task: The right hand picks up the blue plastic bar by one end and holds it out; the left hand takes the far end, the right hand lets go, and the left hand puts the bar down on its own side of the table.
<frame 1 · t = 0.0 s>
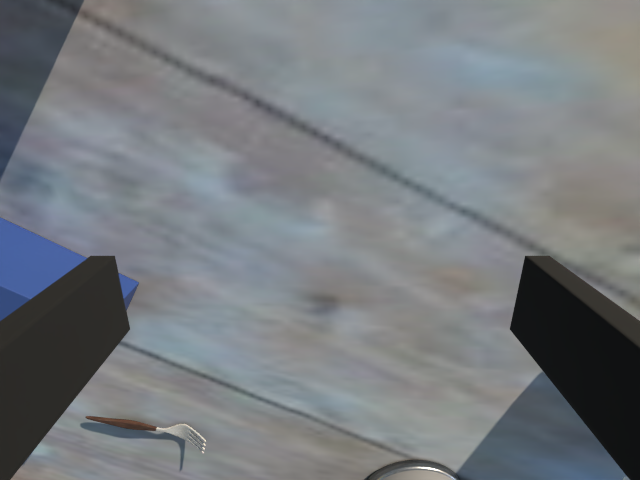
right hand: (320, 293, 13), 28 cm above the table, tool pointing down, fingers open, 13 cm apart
bar: (23, 249, 42), on the table
fork: (149, 423, 51), on the table
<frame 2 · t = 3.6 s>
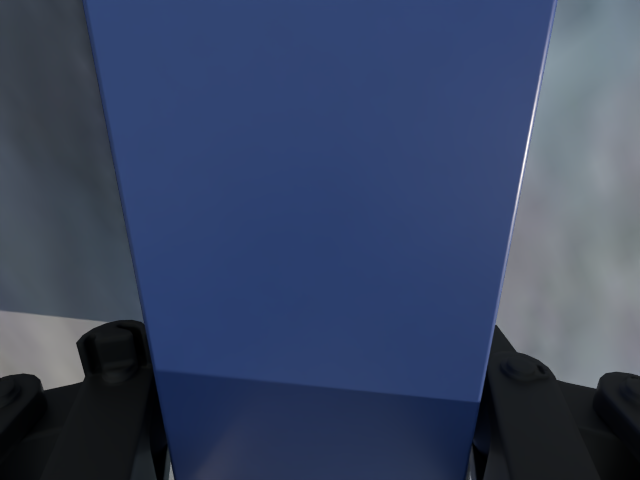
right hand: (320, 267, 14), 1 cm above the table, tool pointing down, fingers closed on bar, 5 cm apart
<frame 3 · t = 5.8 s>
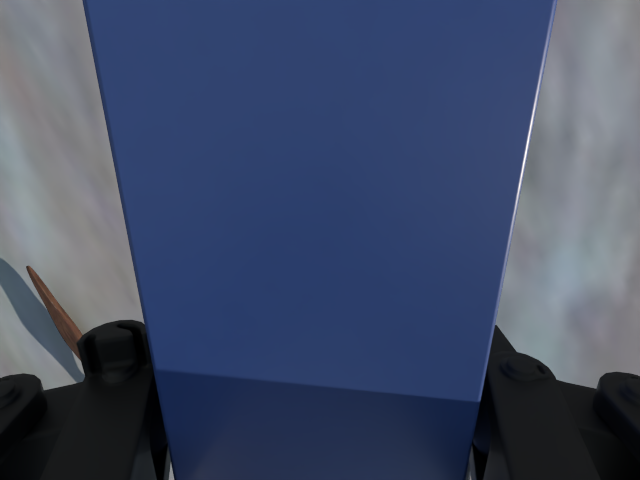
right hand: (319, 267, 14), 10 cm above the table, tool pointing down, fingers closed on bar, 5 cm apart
fork: (93, 355, 29), on the table
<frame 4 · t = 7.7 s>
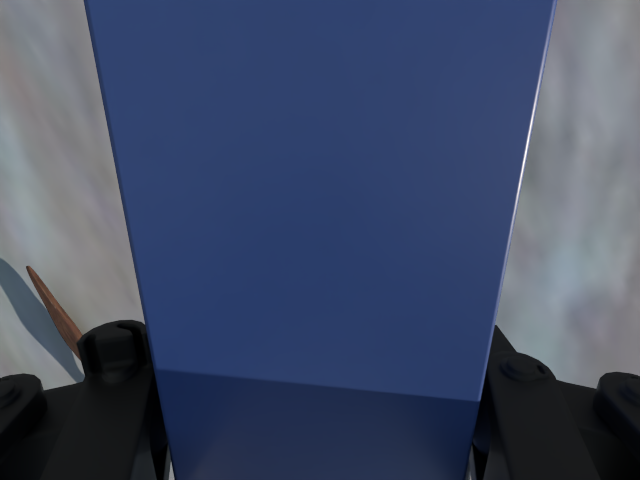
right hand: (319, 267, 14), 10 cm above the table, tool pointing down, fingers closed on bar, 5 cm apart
fork: (93, 355, 29), on the table
when the right hand's fingers open (10 cm above the table, at t = 8.5 s): bar stays where it is, held by the left hand.
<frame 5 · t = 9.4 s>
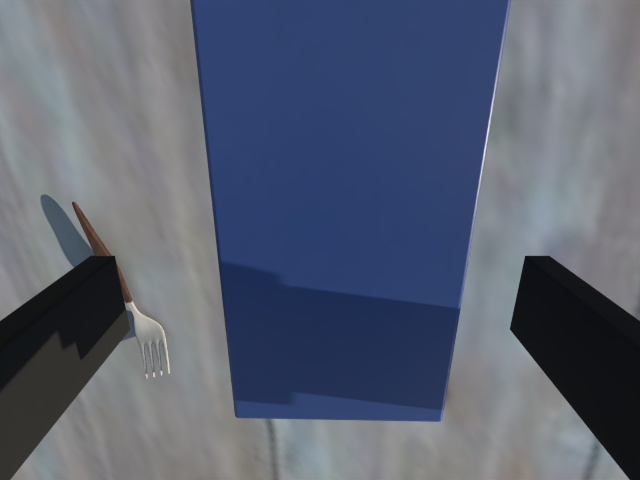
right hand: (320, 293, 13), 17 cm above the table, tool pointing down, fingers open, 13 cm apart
fork: (127, 286, 33), on the table
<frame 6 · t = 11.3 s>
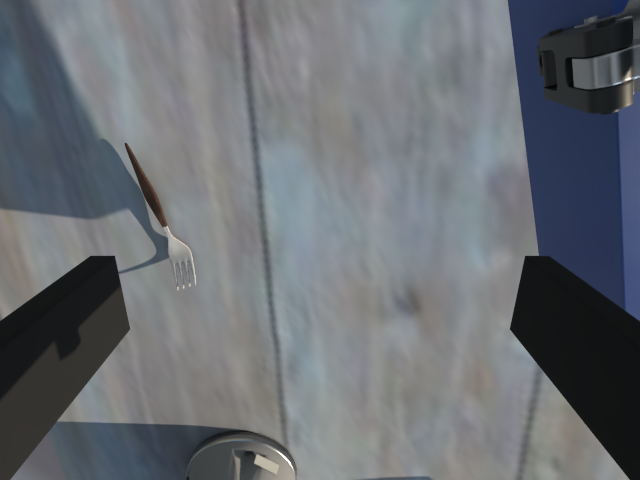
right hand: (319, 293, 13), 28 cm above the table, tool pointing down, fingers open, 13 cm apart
bar: (566, 180, 27), point 13 cm above the table, touching left hand
fork: (163, 215, 41), on the table
when the left hand's fingers open (6 cm above the table, at t = 15.4 s): bar drops 1 cm, on the table.
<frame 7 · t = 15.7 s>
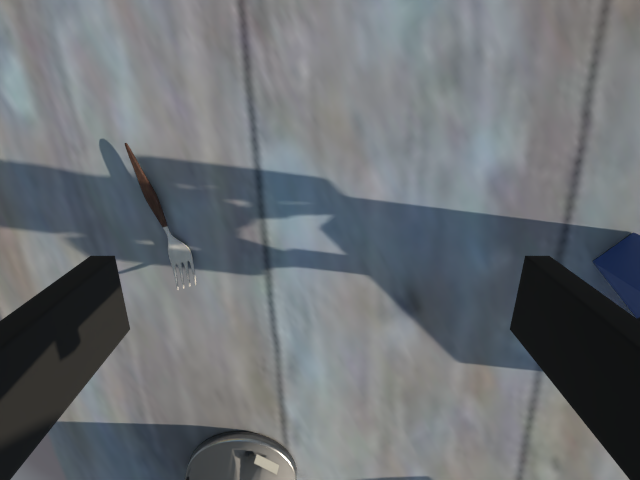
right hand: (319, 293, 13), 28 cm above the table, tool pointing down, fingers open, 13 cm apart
fork: (163, 215, 41), on the table
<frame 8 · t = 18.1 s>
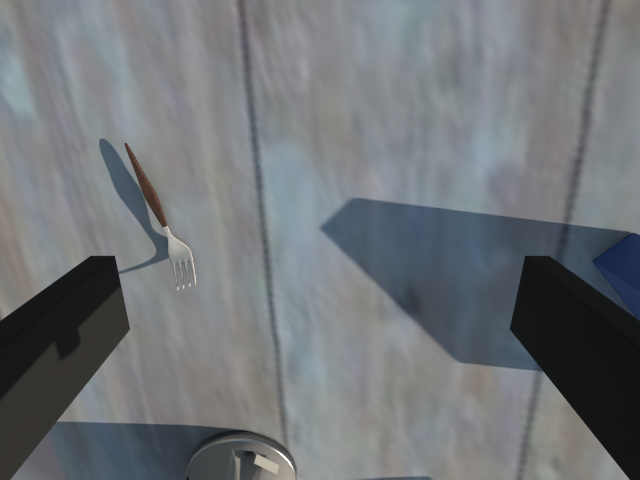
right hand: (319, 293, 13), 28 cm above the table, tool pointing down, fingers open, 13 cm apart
fork: (163, 215, 41), on the table
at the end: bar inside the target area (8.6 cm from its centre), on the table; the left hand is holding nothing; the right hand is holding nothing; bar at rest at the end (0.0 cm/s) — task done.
